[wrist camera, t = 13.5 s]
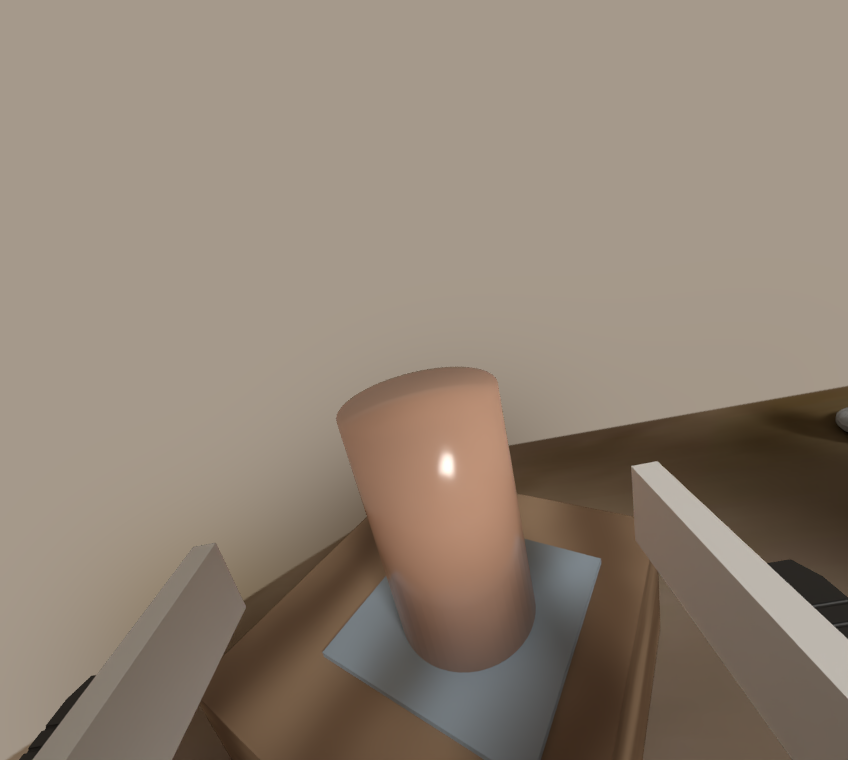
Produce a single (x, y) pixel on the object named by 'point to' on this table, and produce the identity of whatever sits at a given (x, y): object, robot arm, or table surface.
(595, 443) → the table surface
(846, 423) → the pocket watch
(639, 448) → the table surface
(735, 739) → the table surface
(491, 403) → the terracotta cylinder
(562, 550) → the walnut box
